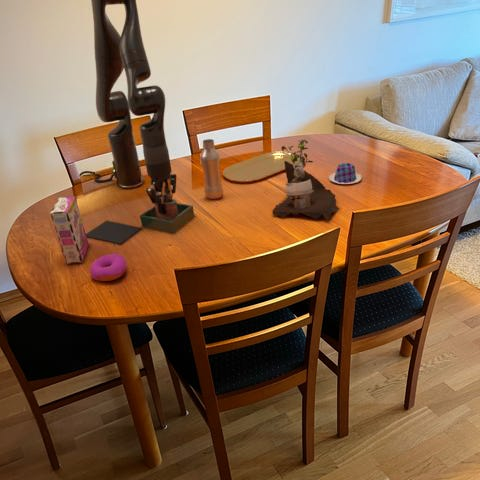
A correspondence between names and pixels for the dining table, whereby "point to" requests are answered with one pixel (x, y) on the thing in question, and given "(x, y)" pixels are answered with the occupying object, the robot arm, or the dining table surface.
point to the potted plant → (304, 190)
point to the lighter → (168, 208)
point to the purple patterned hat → (345, 174)
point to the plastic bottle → (211, 170)
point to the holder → (172, 226)
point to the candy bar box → (70, 229)
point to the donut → (108, 267)
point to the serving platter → (258, 167)
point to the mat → (113, 232)
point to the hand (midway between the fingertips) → (166, 210)
